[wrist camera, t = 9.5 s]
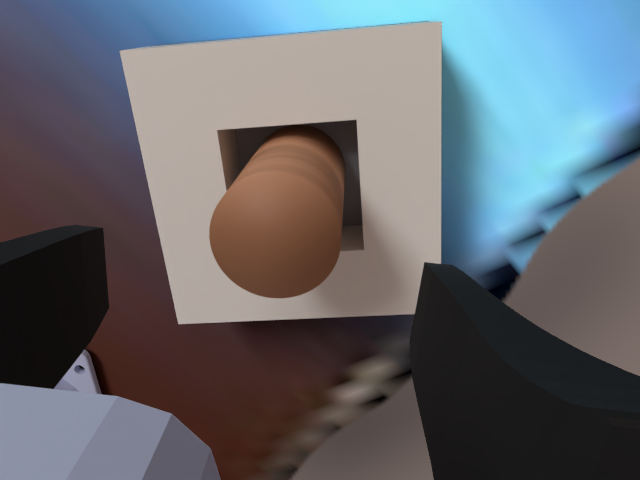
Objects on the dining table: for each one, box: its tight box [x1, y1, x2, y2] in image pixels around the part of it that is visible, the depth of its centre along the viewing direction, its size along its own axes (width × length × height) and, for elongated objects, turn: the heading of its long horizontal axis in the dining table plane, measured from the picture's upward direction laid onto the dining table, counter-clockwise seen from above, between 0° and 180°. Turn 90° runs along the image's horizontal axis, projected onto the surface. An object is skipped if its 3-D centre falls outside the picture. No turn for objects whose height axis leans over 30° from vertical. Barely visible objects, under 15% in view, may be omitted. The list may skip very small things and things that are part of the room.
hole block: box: [120, 21, 442, 324], centre depth 20 cm, size 10×10×4 cm
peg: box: [209, 125, 345, 298], centre depth 17 cm, size 4×4×7 cm
